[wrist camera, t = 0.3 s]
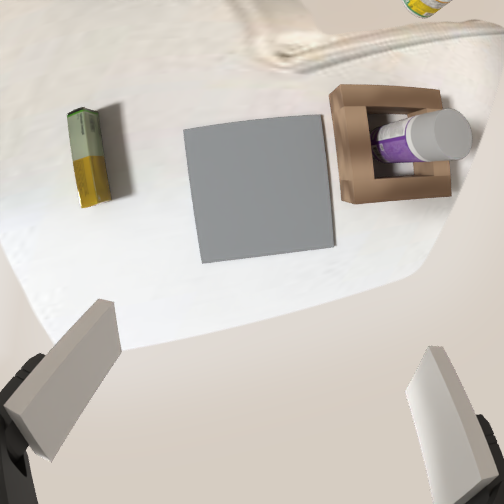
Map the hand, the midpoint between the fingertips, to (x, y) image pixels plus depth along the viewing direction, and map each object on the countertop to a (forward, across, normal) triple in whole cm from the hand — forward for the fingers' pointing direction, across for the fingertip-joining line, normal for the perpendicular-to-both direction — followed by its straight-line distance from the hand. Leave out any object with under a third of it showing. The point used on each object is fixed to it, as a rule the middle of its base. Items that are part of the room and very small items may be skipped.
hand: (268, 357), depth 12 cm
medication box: (+25, -24, +3) cm, 35 cm away
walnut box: (+30, +11, +8) cm, 33 cm away
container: (+30, +11, +8) cm, 34 cm away
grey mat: (+27, -3, +1) cm, 27 cm away
